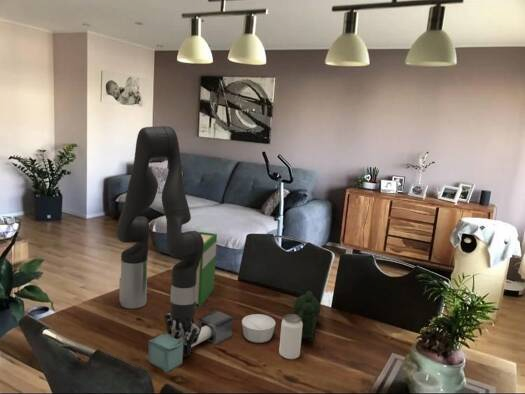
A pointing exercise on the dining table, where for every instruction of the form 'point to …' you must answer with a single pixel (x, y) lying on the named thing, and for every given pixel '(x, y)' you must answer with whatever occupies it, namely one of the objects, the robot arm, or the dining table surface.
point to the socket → (165, 352)
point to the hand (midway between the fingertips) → (181, 351)
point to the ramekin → (258, 327)
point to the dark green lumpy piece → (307, 314)
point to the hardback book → (206, 268)
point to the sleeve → (217, 325)
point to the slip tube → (202, 335)
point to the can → (290, 336)
